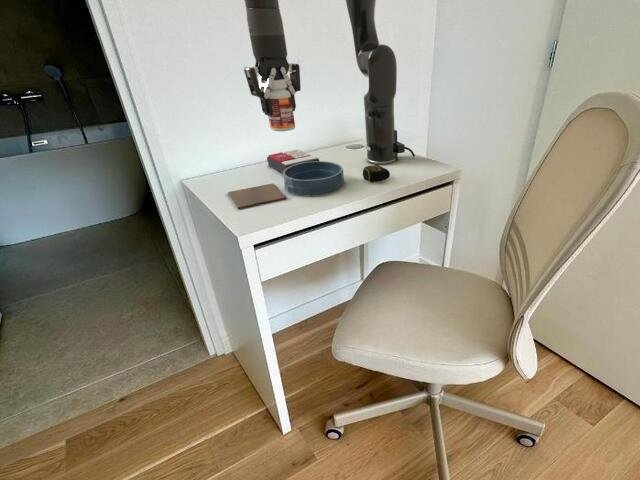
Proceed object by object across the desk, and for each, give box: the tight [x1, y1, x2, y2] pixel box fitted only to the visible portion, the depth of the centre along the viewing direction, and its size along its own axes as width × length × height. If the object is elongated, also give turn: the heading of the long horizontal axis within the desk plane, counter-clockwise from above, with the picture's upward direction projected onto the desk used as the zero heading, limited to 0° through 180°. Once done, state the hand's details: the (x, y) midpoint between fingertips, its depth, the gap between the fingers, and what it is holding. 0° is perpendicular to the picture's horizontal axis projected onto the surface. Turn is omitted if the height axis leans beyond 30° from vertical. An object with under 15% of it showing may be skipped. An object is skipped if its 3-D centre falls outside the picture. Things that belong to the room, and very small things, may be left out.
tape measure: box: [362, 164, 391, 183], centre depth 112 cm, size 7×7×4 cm
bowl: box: [282, 160, 345, 197], centre depth 108 cm, size 16×16×4 cm
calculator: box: [266, 149, 320, 175], centre depth 121 cm, size 11×4×15 cm
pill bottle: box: [264, 79, 296, 132], centre depth 95 cm, size 6×6×11 cm
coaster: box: [227, 182, 287, 210], centre depth 103 cm, size 12×12×1 cm
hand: (280, 112), depth 96 cm, fingers closed on pill bottle, 6 cm apart
